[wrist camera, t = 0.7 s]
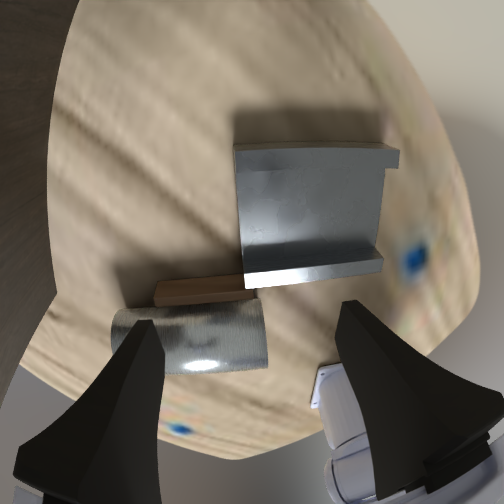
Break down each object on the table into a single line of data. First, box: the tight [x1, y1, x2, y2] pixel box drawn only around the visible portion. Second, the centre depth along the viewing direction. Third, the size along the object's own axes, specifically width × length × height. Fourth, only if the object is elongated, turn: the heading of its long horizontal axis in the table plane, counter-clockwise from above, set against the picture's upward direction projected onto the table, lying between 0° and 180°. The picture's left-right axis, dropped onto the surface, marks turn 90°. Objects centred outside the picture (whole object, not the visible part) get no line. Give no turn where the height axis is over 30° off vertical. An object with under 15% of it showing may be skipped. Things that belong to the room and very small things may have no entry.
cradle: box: [233, 141, 400, 289], centre depth 18 cm, size 9×10×2 cm
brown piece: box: [153, 273, 254, 307], centre depth 22 cm, size 8×7×2 cm
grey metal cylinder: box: [111, 298, 268, 375], centre depth 21 cm, size 11×5×5 cm, turn 93°
